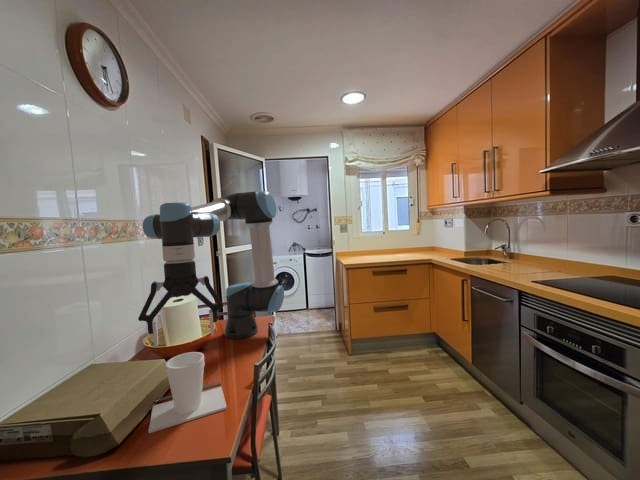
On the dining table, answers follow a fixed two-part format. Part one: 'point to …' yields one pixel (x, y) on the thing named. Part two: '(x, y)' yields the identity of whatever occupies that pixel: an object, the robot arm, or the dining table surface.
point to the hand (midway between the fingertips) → (185, 339)
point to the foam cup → (186, 380)
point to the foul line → (202, 389)
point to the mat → (168, 416)
